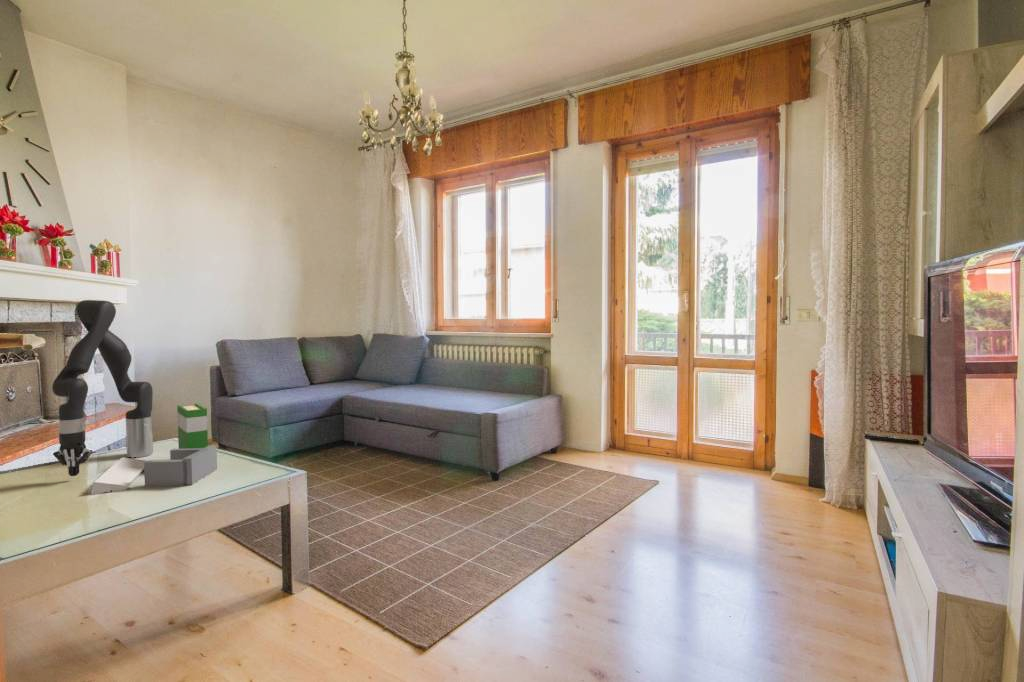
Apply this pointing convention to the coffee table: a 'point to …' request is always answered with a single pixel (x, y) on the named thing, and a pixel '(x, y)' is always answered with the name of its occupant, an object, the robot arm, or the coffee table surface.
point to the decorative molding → (119, 476)
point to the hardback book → (192, 426)
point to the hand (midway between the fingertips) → (73, 475)
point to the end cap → (181, 467)
